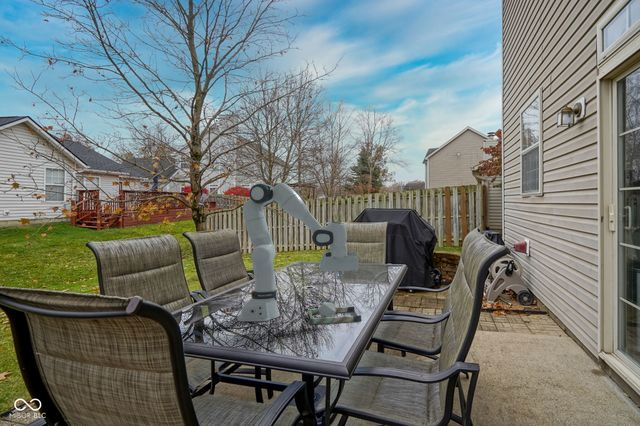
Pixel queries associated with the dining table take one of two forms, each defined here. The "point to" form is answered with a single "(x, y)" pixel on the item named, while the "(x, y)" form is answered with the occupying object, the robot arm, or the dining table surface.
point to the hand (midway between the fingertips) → (339, 279)
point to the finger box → (335, 319)
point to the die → (327, 310)
